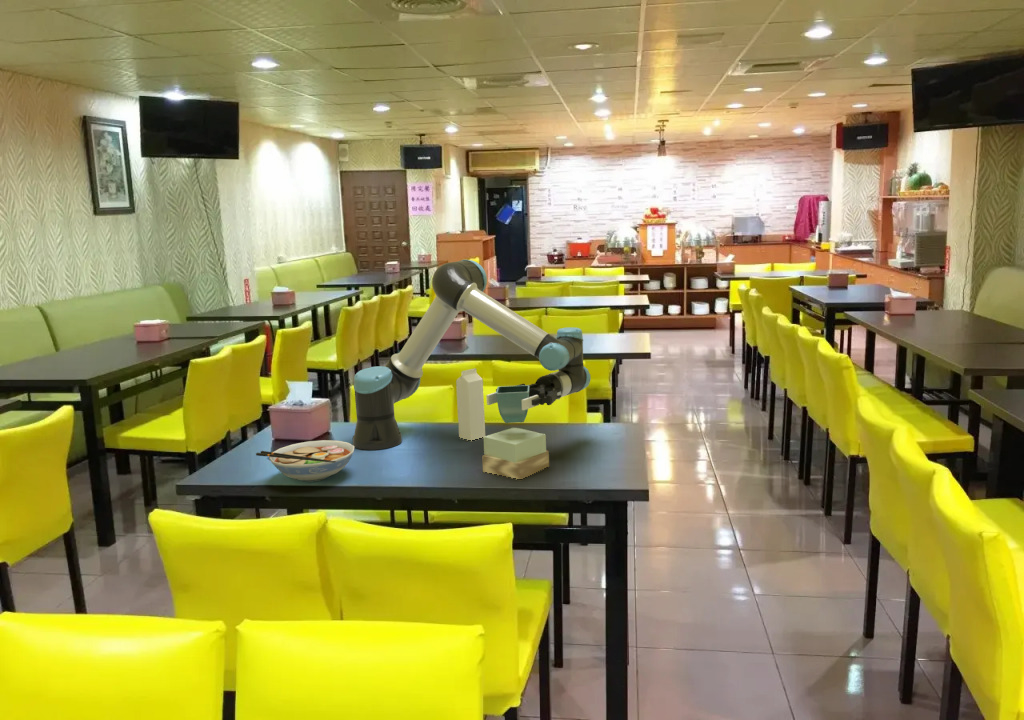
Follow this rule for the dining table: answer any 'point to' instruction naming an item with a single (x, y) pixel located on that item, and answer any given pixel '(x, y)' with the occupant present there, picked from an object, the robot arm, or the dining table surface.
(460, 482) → the dining table surface
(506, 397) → the flower pot
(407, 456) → the dining table surface
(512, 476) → the maple block
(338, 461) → the ramen bowl
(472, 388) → the milk
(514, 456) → the sage block
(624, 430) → the dining table surface
